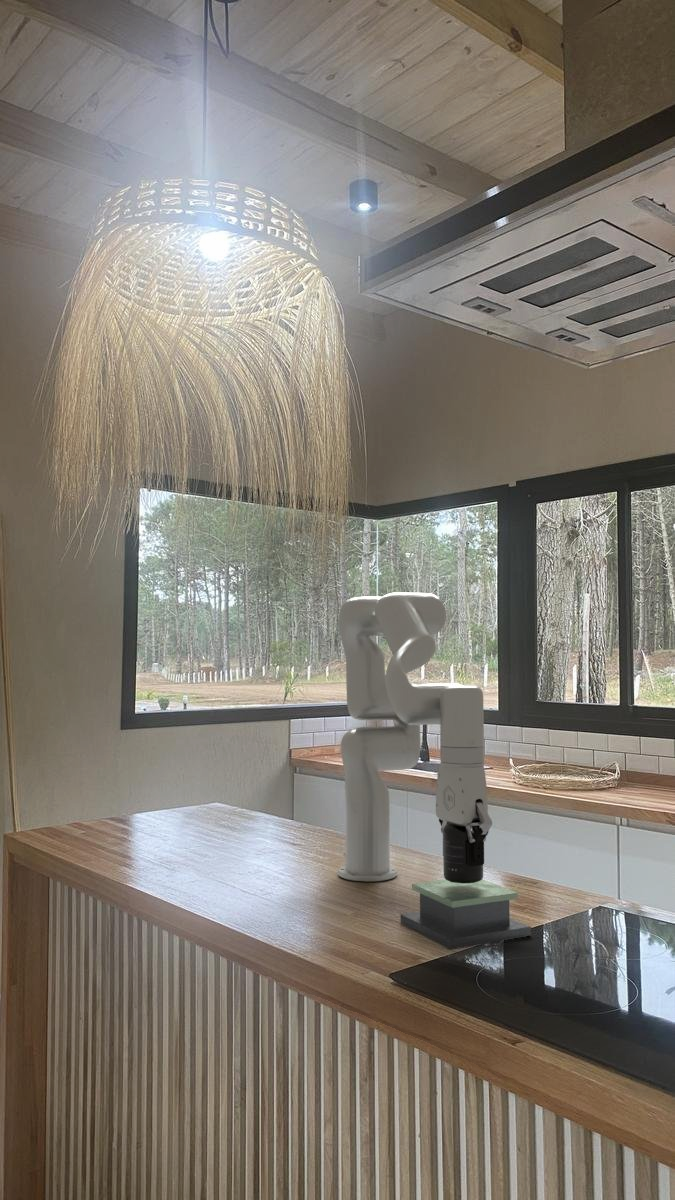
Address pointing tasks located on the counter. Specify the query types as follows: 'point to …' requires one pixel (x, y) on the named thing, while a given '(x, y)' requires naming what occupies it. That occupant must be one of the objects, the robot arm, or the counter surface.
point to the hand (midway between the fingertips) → (463, 860)
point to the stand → (464, 913)
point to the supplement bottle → (458, 856)
